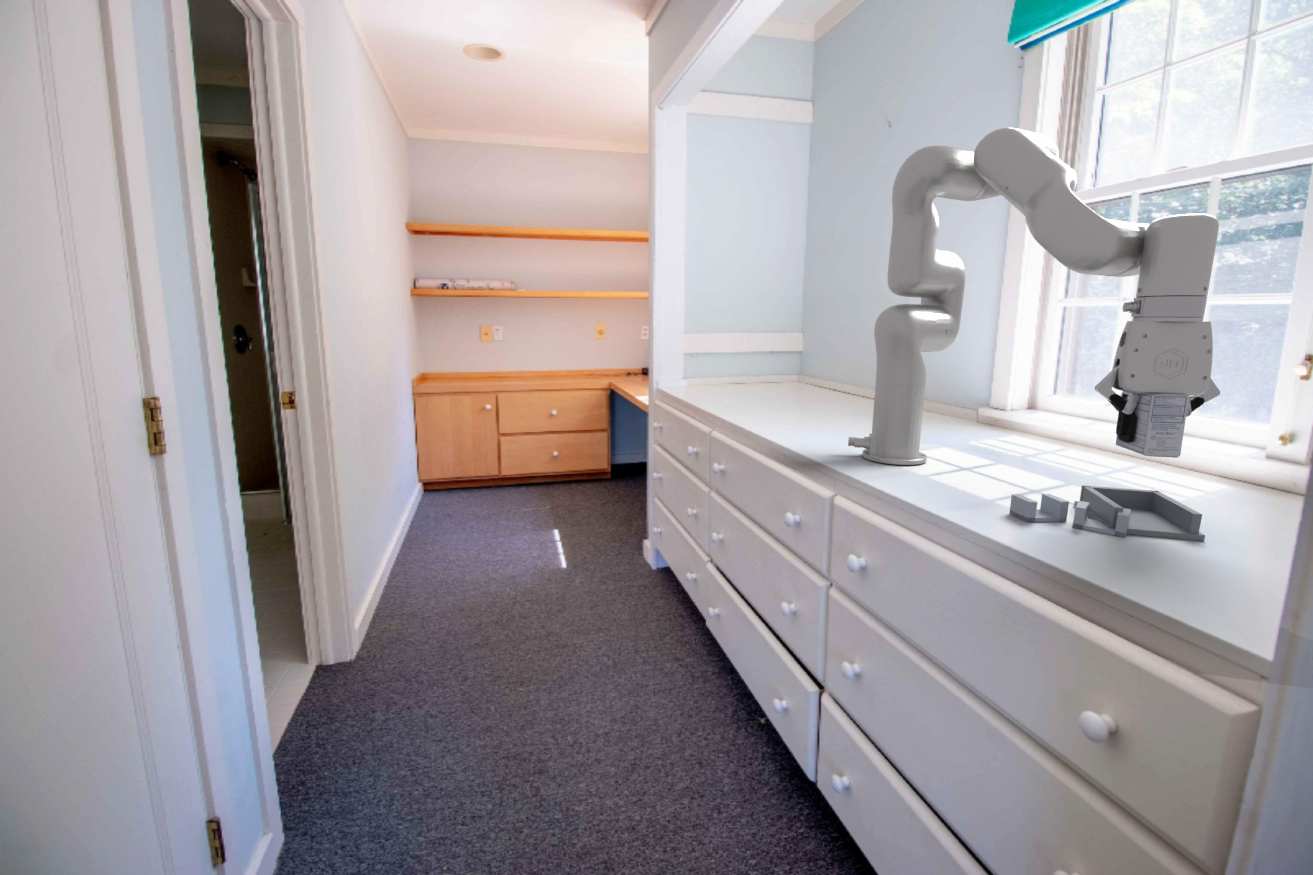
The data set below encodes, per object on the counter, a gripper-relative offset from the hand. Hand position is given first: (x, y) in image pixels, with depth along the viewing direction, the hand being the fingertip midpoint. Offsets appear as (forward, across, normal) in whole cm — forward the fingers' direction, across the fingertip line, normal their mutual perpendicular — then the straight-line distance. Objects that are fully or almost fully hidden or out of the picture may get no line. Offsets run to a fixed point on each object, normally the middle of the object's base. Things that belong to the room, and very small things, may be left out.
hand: (1147, 440), depth 87 cm
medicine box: (+2, 0, 0) cm, 2 cm away
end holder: (+12, 0, 0) cm, 12 cm away
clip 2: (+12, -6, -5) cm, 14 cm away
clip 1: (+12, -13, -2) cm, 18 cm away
